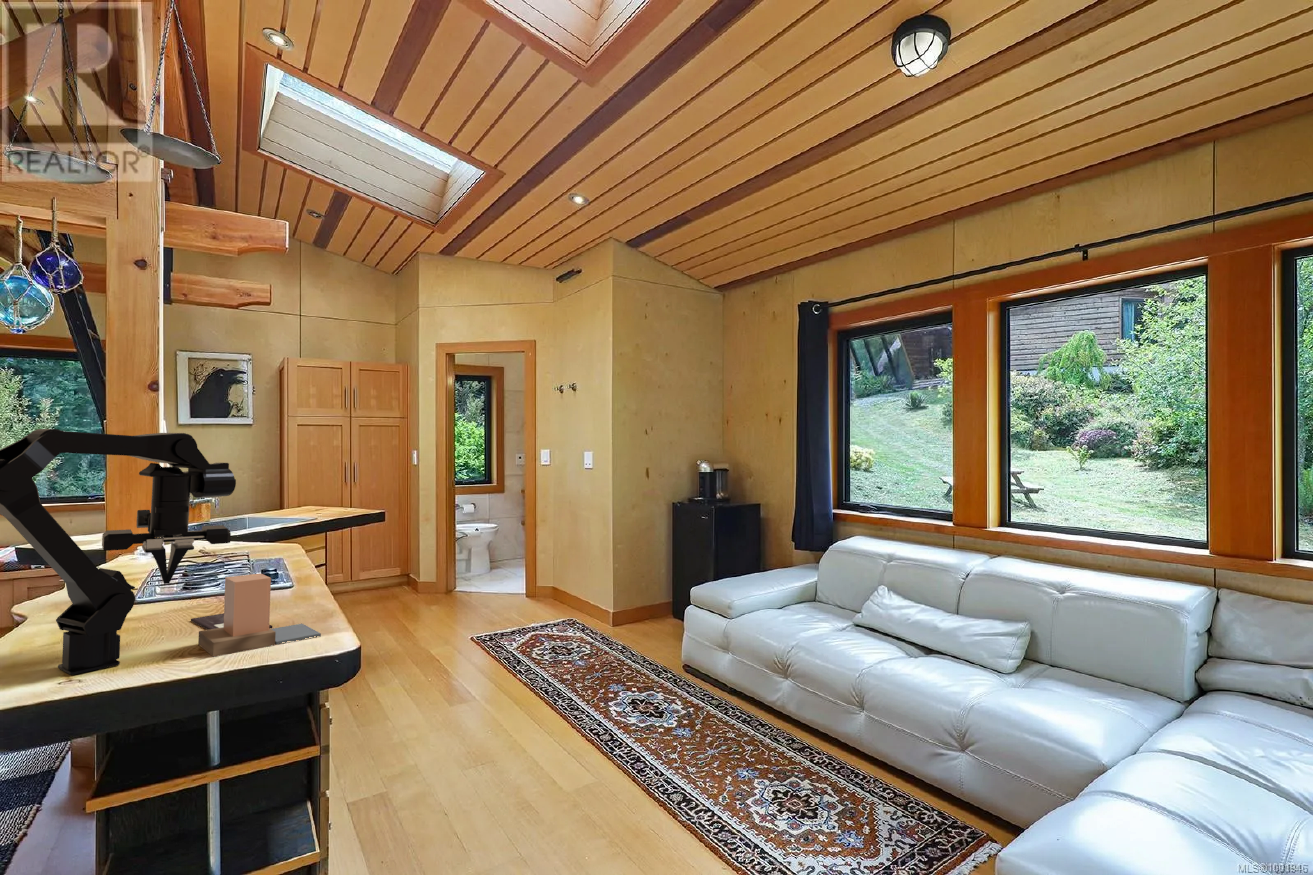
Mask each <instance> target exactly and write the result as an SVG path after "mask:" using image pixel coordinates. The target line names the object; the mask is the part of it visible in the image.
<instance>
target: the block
mask: <svg viewBox="0 0 1313 875" xmlns="http://www.w3.org/2000/svg"><path fill="white" fill-rule="evenodd" d="M224 581H225V582H224V602H223V603H224V605H223V606H224V607H223V613H224V631H226V632H227V633H229V634H230V635H231V636H239V635H245V634H250V633H256V632H262V631H268V630H269V625H270V617H271V615H270V614H271V611H270V610H271V586H272V577H270V576H267V575H265V574H263V573H254V574H253V573H252V574H243V575H234V576H226V577H225V578H224Z"/></svg>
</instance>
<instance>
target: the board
mask: <svg viewBox="0 0 1313 875" xmlns="http://www.w3.org/2000/svg"><path fill="white" fill-rule="evenodd" d="M272 629H273V628H271V629H270V628H269V630H268V631H262V632H256V633H250V634H245V635H239V636H231V635H230V634H229V633H227V632H226V631H224V627H222V628H216V629H210V630H207V629H205V630H198V643H197V644H198V646H200V648H201V649H203V650H204V651H205V652H206V653H208V654H209V655H210V656H211V657H219V656H220V657H221V656H225V655H230V654H235V653H240V652H247V651H250V650H256V649H261V648H262V649H263V648H267V647H266V646H268V647H272V646H271V645H273V646H276V644H275V636H276V632H275V631H273V630H272Z"/></svg>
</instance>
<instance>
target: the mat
mask: <svg viewBox="0 0 1313 875" xmlns="http://www.w3.org/2000/svg"><path fill="white" fill-rule="evenodd" d="M271 629H272V630H273V631H275V632H276V636H275V645H276V644H278V645H280V644H279V643H282V642H287V641H294V642H297V641H296V640H299V641H302V640H301V639H305V638H309V637H314V636H320V637H321V636H322V632H319V631H317V630H316V629H313V628H311V627H310V626H308V625H306V624H304V623H298V624H291V625H285V626H280V627H272V628H271ZM305 640H306V639H305Z"/></svg>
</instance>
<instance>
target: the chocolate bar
mask: <svg viewBox="0 0 1313 875" xmlns="http://www.w3.org/2000/svg"><path fill="white" fill-rule="evenodd" d="M190 622H191V623H194V624H195V625H197V626H199V627H201V628H203V629H205V630H210V629H216V628H222V627H224V612H223V613H218V614H212V615H211V614H210V615H204V616H198V617H193V618H190ZM269 628H271V629H273V625H271V624H269Z"/></svg>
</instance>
